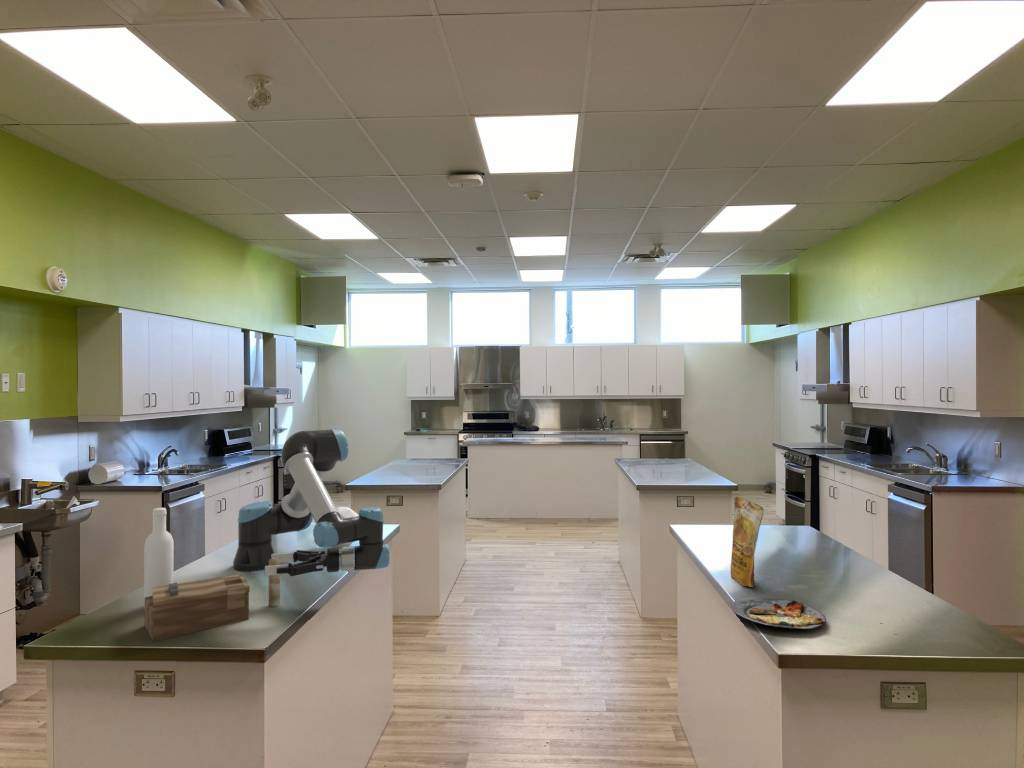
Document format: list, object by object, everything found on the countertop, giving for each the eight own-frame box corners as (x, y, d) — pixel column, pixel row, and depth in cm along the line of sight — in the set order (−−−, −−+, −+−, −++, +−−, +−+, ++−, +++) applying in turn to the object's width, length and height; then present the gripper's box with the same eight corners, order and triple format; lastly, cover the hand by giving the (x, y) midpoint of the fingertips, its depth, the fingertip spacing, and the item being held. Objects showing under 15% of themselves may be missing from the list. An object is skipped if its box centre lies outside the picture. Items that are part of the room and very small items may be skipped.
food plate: (813, 608, 181) (813, 596, 181) (837, 639, 158) (837, 626, 158) (727, 601, 186) (727, 590, 186) (738, 631, 164) (738, 618, 164)
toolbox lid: (152, 592, 171) (152, 583, 171) (242, 578, 184) (242, 570, 184) (153, 607, 159) (153, 597, 159) (249, 591, 172) (249, 582, 172)
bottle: (174, 607, 181) (175, 509, 182) (144, 612, 177) (145, 512, 177) (172, 599, 188) (172, 505, 188) (142, 604, 183) (143, 508, 184)
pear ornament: (358, 501, 246) (370, 517, 271) (304, 503, 245) (321, 519, 270) (355, 541, 239) (368, 554, 264) (299, 543, 238) (317, 556, 263)
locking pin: (267, 605, 183) (267, 559, 183) (277, 602, 185) (277, 557, 186) (271, 607, 181) (271, 561, 181) (281, 605, 183) (281, 559, 183)
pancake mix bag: (743, 572, 215) (742, 495, 216) (766, 590, 196) (765, 505, 197) (724, 572, 215) (724, 495, 216) (745, 590, 196) (745, 505, 197)
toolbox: (144, 625, 167) (144, 597, 167) (234, 605, 182) (235, 579, 183) (153, 641, 156) (153, 611, 156) (248, 619, 172) (248, 591, 172)
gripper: (338, 583, 176) (262, 589, 170) (340, 560, 200) (273, 565, 195) (338, 558, 176) (262, 563, 171) (340, 538, 200) (273, 542, 195)
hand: (268, 564), depth 183 cm, fingers open, 13 cm apart
